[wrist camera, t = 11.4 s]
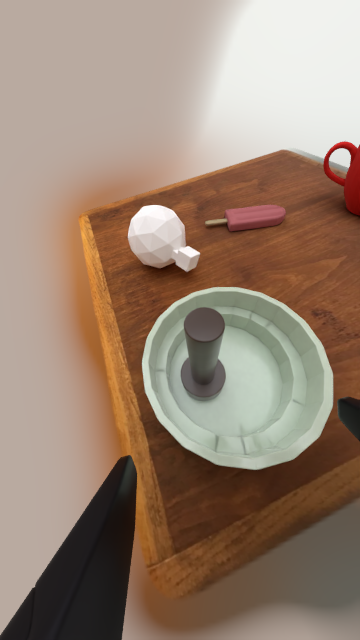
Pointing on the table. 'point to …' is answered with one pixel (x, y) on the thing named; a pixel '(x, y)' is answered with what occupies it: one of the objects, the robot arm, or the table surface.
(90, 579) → the robot arm
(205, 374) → the pestle
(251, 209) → the popsicle
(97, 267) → the table surface
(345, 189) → the ceramic cup
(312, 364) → the bowl
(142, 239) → the perfume bottle
